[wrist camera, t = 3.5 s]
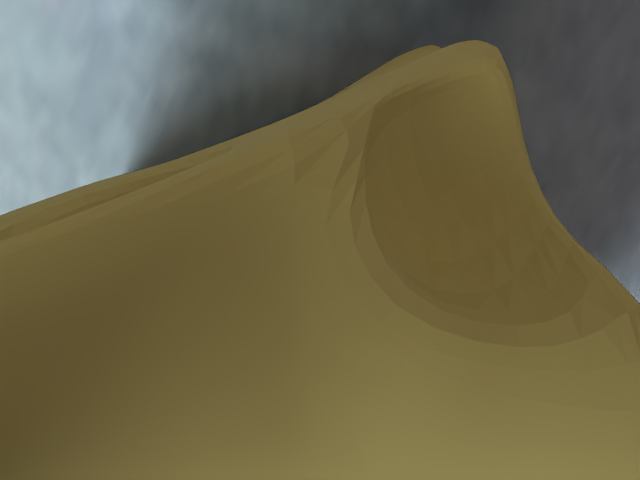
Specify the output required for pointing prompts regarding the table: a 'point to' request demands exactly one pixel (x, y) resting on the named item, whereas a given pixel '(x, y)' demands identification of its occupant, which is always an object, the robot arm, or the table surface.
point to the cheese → (322, 305)
